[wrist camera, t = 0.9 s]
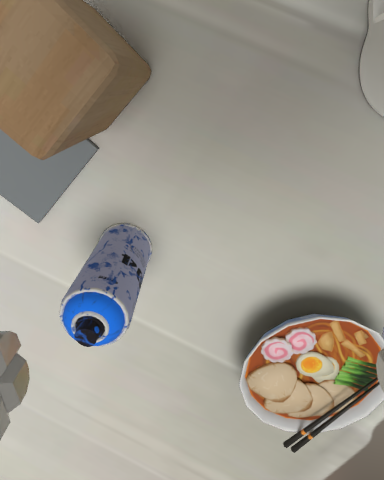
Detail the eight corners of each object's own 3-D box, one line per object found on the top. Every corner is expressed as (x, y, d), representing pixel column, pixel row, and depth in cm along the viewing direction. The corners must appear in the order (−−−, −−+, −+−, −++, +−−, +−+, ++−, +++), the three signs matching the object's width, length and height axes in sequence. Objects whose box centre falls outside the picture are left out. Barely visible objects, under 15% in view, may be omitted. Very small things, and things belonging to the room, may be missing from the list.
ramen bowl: (311, 256, 52) (330, 285, 44) (408, 336, 57) (439, 374, 50) (202, 356, 60) (202, 395, 52) (296, 418, 65) (308, 461, 58)
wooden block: (38, 73, 42) (-83, 66, 24) (89, 2, 39) (-7, -67, 21) (103, 133, 45) (38, 168, 27) (155, 71, 42) (122, 63, 24)
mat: (26, 85, 43) (23, 85, 42) (99, 148, 46) (97, 149, 45) (-29, 169, 47) (-33, 170, 47) (40, 221, 50) (38, 223, 49)
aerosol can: (161, 258, 52) (141, 353, 34) (117, 279, 54) (74, 379, 36) (134, 214, 49) (97, 291, 31) (88, 237, 51) (26, 322, 33)
